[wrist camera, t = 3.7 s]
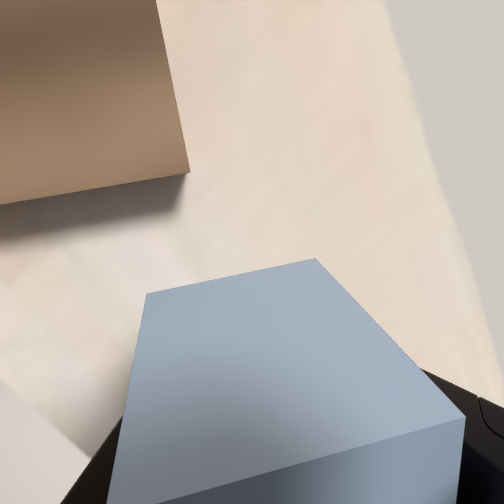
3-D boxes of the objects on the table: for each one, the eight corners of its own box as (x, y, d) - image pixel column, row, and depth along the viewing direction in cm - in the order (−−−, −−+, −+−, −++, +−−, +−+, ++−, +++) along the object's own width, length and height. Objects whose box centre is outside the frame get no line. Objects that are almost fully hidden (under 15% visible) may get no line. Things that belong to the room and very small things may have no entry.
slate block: (326, 387, 11) (443, 607, 6) (184, 424, 11) (187, 697, 6) (315, 258, 10) (465, 416, 5) (146, 293, 9) (103, 517, 4)
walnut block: (188, 163, 16) (190, 172, 13) (-25, 198, 15) (-72, 216, 12) (136, -93, 13) (125, -150, 10) (-143, -71, 12) (-244, -129, 9)
